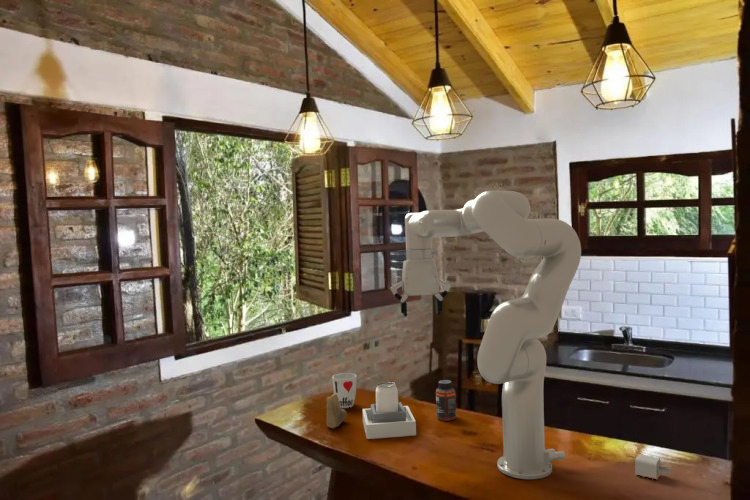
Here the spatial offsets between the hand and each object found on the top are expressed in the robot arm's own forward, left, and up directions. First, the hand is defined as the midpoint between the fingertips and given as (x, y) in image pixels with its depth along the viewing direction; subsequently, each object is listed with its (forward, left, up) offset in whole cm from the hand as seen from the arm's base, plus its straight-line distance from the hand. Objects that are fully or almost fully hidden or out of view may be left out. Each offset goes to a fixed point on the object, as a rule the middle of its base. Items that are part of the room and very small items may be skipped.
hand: (421, 314), depth 157 cm
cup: (+22, -27, -34) cm, 48 cm away
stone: (+26, -9, -34) cm, 43 cm away
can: (+11, -3, -32) cm, 34 cm away
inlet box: (+11, -3, -33) cm, 35 cm away
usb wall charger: (-45, +40, -34) cm, 68 cm away
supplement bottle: (-8, -8, -34) cm, 35 cm away
